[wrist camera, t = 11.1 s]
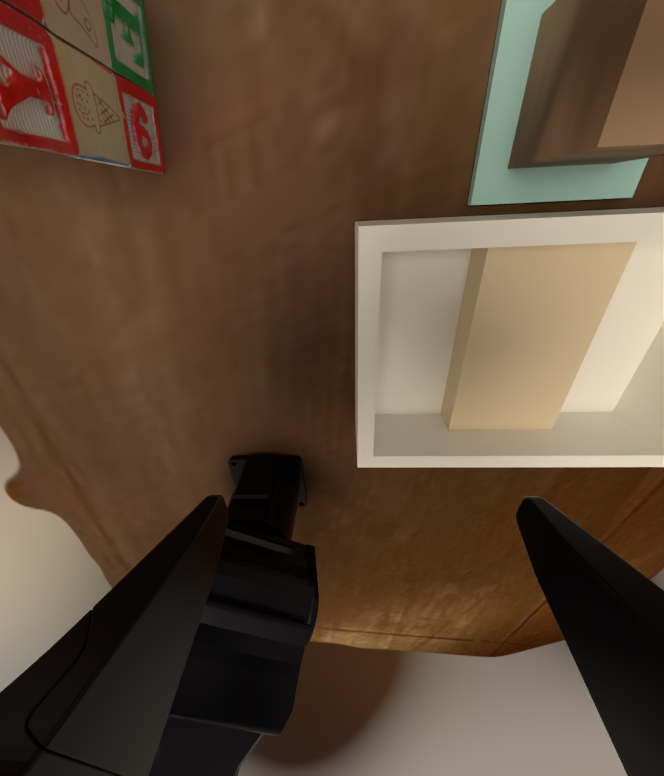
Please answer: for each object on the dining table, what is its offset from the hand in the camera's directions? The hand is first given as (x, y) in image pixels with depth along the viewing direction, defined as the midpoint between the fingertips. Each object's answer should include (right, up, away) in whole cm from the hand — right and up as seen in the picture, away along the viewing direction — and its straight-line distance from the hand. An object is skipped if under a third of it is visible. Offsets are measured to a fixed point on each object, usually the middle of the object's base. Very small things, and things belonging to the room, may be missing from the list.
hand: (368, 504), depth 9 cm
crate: (+10, +7, +11) cm, 16 cm away
